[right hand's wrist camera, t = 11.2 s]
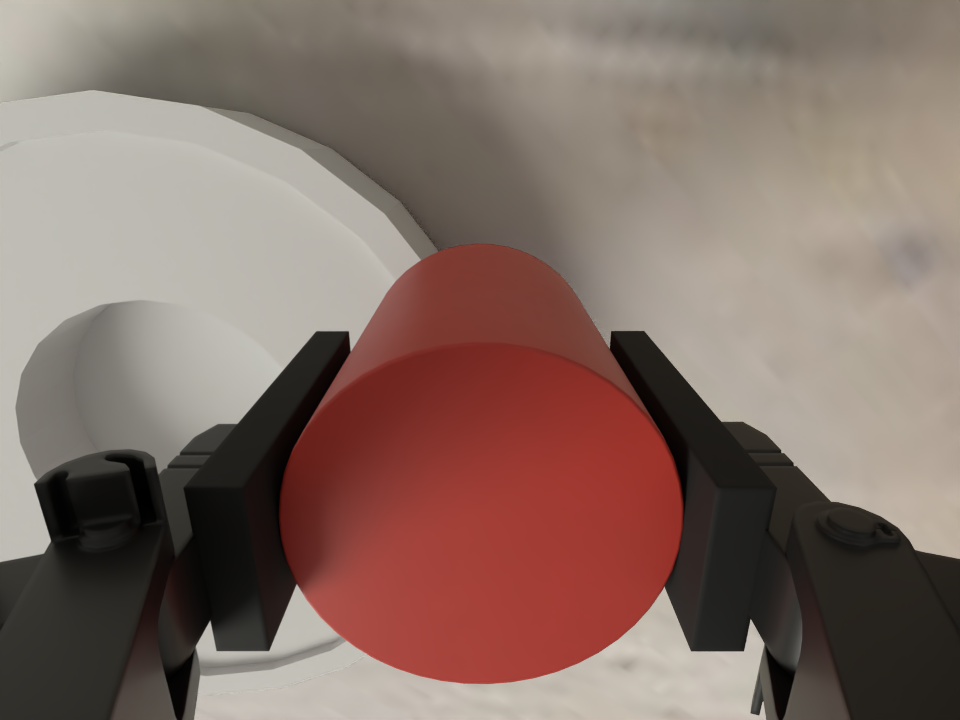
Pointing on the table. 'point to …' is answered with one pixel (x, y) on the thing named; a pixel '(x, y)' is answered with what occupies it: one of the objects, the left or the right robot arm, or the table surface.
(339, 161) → the ashtray
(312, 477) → the canister
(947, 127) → the table surface
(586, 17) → the table surface
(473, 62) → the table surface
